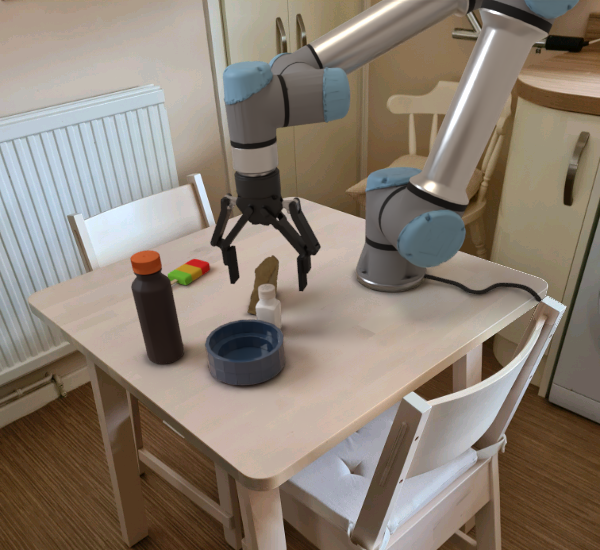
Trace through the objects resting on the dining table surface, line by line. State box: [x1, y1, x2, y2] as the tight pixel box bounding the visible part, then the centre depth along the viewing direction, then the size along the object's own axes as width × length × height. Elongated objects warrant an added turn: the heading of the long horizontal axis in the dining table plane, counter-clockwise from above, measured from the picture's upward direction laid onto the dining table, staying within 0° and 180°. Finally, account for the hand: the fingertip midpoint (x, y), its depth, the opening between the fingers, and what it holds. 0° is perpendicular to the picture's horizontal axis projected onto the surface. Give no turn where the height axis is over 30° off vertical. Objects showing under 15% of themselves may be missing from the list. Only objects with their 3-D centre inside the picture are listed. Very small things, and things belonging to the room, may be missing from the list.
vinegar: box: [129, 249, 185, 365], centre depth 110 cm, size 7×7×20 cm
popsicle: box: [167, 258, 211, 286], centre depth 139 cm, size 6×15×2 cm, turn 147°
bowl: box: [204, 318, 286, 386], centre depth 111 cm, size 14×14×6 cm
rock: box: [247, 255, 280, 315], centre depth 128 cm, size 11×9×10 cm
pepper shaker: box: [256, 284, 283, 330], centre depth 118 cm, size 4×4×10 cm
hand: (268, 284), depth 115 cm, fingers open, 13 cm apart
